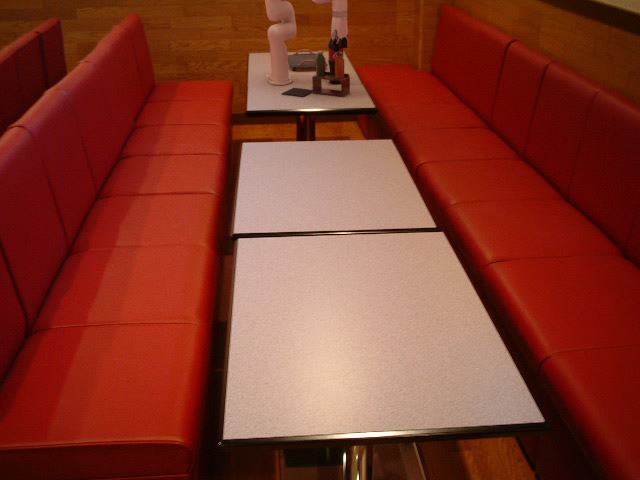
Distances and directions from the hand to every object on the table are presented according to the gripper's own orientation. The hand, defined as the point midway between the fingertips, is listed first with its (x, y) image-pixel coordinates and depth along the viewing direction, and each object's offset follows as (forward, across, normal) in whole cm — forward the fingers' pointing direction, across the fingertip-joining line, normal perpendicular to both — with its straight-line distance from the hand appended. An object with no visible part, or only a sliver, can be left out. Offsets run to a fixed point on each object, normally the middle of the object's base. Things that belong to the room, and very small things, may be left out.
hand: (340, 49), depth 322 cm
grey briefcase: (+22, -54, -50) cm, 77 cm away
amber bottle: (+14, 0, 0) cm, 14 cm away
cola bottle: (+23, -21, -13) cm, 34 cm away
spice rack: (+23, 0, -6) cm, 24 cm away
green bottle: (+14, 0, -12) cm, 18 cm away
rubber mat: (+23, +6, -22) cm, 32 cm away
